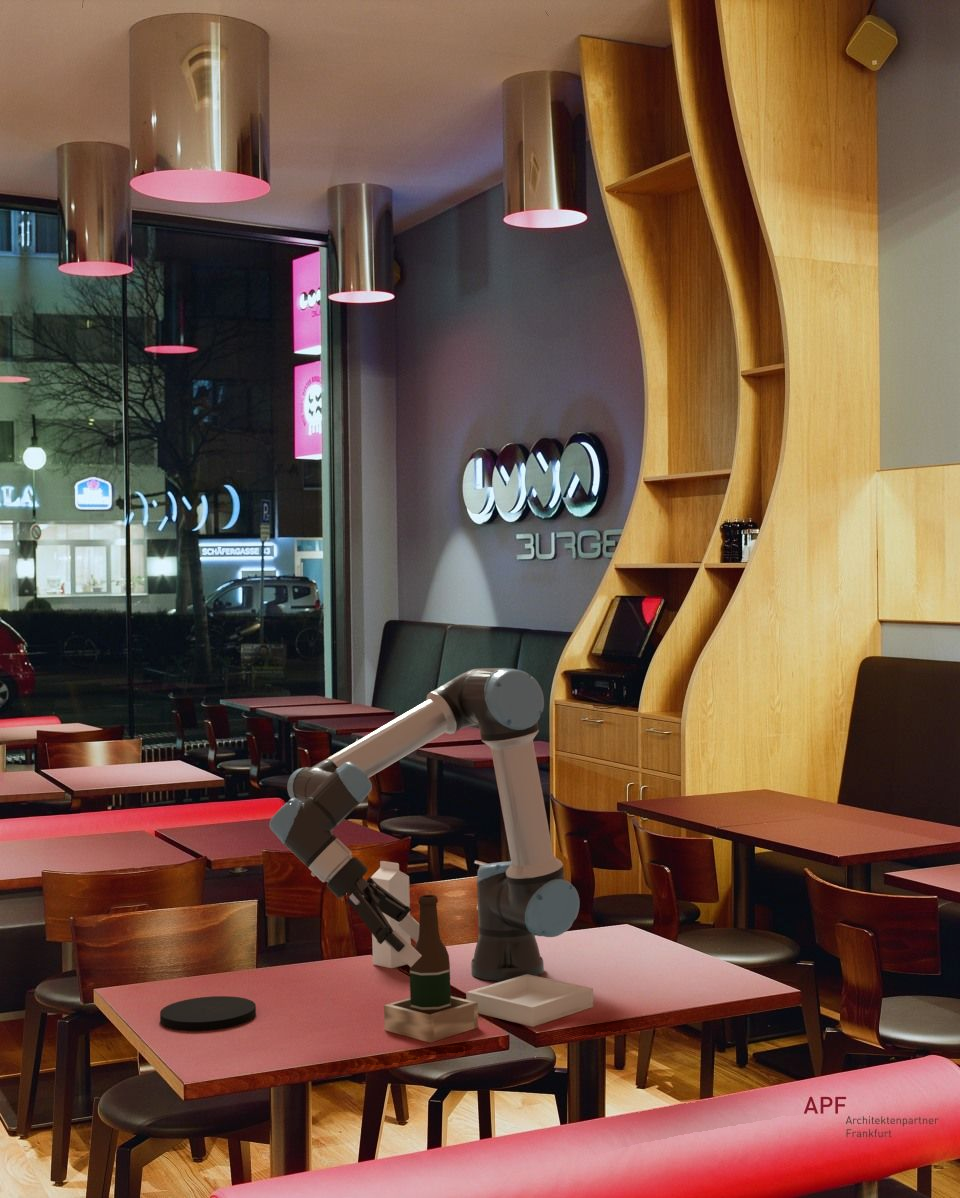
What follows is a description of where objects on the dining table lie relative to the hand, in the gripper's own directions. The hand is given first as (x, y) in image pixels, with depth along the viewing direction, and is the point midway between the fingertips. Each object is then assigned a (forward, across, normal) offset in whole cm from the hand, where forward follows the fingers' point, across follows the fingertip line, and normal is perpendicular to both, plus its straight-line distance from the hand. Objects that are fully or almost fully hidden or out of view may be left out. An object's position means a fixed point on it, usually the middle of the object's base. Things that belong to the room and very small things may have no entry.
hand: (422, 952), depth 255 cm
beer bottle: (+11, 0, -9) cm, 14 cm away
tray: (+22, -14, +3) cm, 27 cm away
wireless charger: (-20, -7, -40) cm, 46 cm away
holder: (+11, 0, -9) cm, 14 cm away
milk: (0, -48, -20) cm, 53 cm away
